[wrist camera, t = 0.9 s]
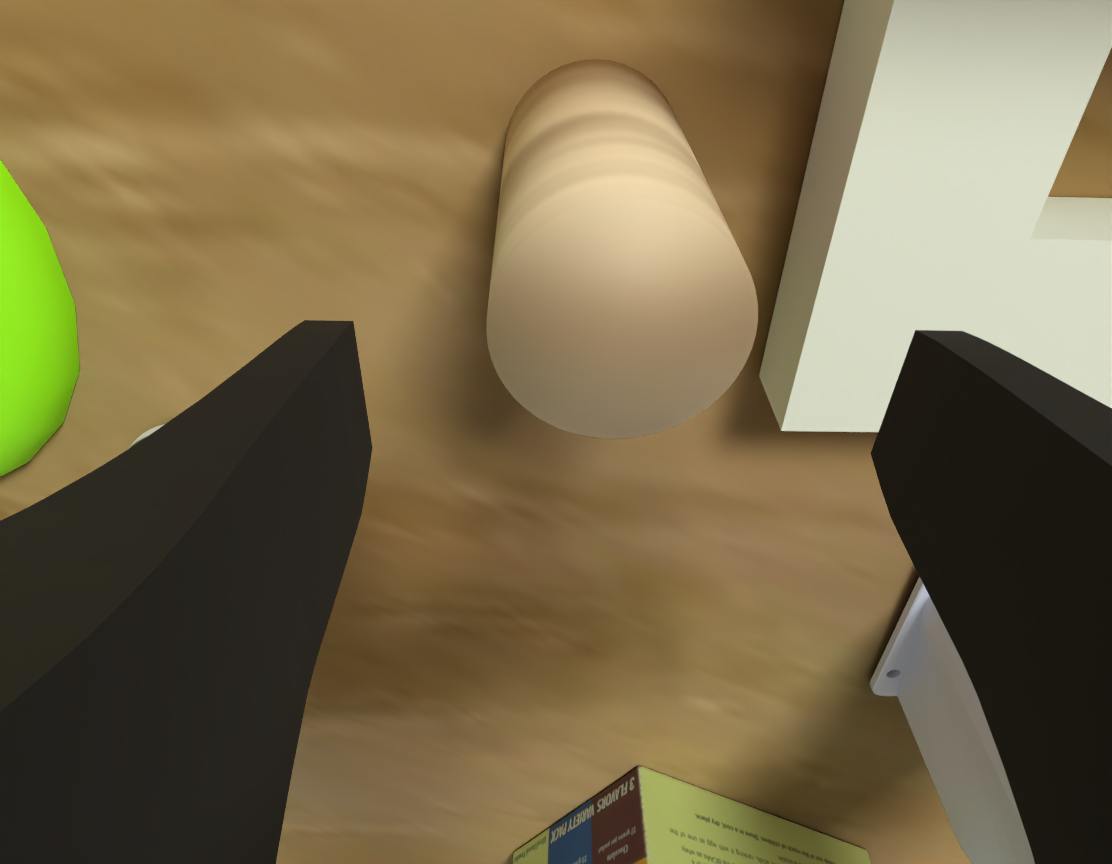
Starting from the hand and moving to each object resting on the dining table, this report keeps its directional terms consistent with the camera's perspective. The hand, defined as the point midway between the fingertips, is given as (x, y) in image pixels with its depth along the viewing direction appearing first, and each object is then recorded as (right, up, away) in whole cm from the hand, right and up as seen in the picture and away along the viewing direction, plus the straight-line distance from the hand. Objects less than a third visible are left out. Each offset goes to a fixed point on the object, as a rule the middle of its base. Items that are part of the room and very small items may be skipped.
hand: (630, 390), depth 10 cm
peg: (0, +6, +8) cm, 10 cm away
